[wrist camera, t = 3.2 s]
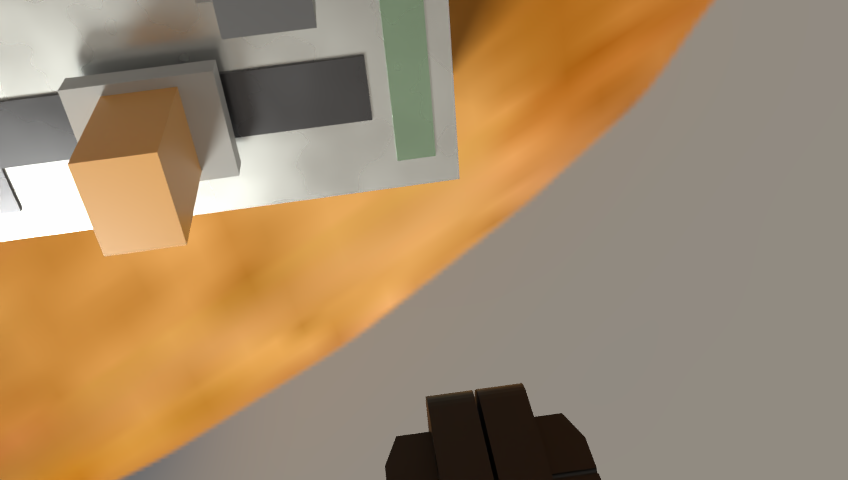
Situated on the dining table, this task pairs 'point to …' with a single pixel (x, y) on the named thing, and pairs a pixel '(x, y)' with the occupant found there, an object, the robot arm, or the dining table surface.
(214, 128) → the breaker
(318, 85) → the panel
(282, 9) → the breaker mid
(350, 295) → the dining table surface
